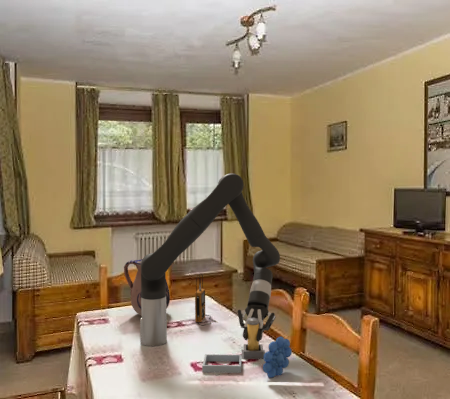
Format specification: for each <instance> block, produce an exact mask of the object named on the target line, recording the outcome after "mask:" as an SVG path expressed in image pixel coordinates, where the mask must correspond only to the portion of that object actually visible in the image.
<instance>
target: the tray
mask: <svg viewBox="0 0 450 399" xmlns="http://www.w3.org/2000/svg"><path fill="white" fill-rule="evenodd" d="M207 362H237V363H238V365H235V364H234V365H233V364H231V365H230V364H229V365H227V364H224V365H223V364H222V365H221V364H220V365H219V364H207ZM201 366H202V368H201V370H202V371H201V372H202V373H220V374H221V373H225V374H226V373H227V374H228V373H229V374H231V373H232V374H237V373H238V374H241V373H242V354H221V353H220V354H215V353H212V354H211V353H209V354H207V353H205V354H204V358H203V361H202V365H201Z"/></svg>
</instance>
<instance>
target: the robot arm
mask: <svg viewBox="0 0 450 399" xmlns="http://www.w3.org/2000/svg"><path fill="white" fill-rule="evenodd" d="M244 187H245V186H244V180H243V178H242V176H240V175H239V174H236V173H232V172H231V173H227V174H225V175H223V176H221V178H220V179H219V180H218V182H217V185H216V187H215V188H214V189H213V190H212V191H211V193H210V194H208V196H207V197H206V198H205V199H203V200H202V201H201V202H200V203H197V205H195V206H194V207H193V208H191V210H190V211H188V212H187V213H186V214H185V216H184V217H183V218H181V220H180V221H179V222H178V223H177V224H176V225H175V227H174V228H173V229H172V231H171V233H170V234H169V236H168V237H166V238H167V239H166V240H165V241H164V242H163V244H161V246H159V247H158V248H157V249H156V250H155V251H154V252H151V253H148V254H145V256H143V258H141V259H142V262H141V307H142V316H141V318H140V320H139V329H140V330H139V333H140V335H139V337H140V342H139V343H140V345H144V346H148V347H157V346H162V345H165V344H166V343H167V341H168V338H167V337H168V334H167V332H168V330H167V326H168V325H167V324H168V322H167V309H166V281H167V279H166V272H167V271H168V270H169V269H170V267H171V266H172V265H173V264H174V262H175V261H176V260H177V259H178V257H179V256H180V255H181V254H182V253H183V252H185V251H187V249H188V248H189V247H190V246H191V245H193V244H194V242H195V241H196V240H198V239H199V238H200V236H202V235H203V233H204V232H205V231H206V230H207V229H208V227H209V226H210V225H211V224H212V223H213V222H214V221H215V219H216V218H217V216H218V215H219V214H220V213H221V211H223V209H224V208H226V207H227V206H228V205H229V207H230V208H231V210H232V212H233V213H234V216H235V217H236V219H237V222H238V224H239V226H240V228H241V230H242V232H243V235H244V236H245V239H246V240H247V241H248V244H249V246H250V247H251V248H260V249H261V250H259V251H256V252H255V253H254V255H253V258H252V264H253V273H254V274H253V278H252V284H251V287H250V290H249V296H248V299H247V300H248V301H247V304H246V307H245V309H243V310H241V309H238V310H237V317H238V322H239V323H238V324H239V326H240V328H241V329H243V332H242V337H243V339H244V341H248V324H247V319H248V318H258V319H259V329H258V333H257V341H258V342H259V343H260V342H261V341H262V339H263V334H264V331H269V330H270V329H271V327H272V325H273V323H274V321H275V320H276V314H275V313H274V312H270V311H269V306H270V301H271V295H272V283H273V272H272V271H271V269H269V268H270V267H274V266H276V265H278V264H279V263H280V260H281V254H280V251H279V250H278V248H277V247H276V246H275V245H274V244H273V243H272V241H270V239H269V238H268V236H266V234H265V232H264V230H263V228H262V226H261V224H260V222H259V221H258V219H257V218H256V216H255V215H254V213H253V212H252V210H251V209H250V207H249V205H248V204H247V202H246V199H245V196H244V195H243V191H244V190H243V189H244ZM245 315H246V316H247V317H246V320H245V321H244V317H245ZM266 318H267V320H266V321H265V324H264V320H265V319H266Z"/></svg>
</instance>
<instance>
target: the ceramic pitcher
mask: <svg viewBox="0 0 450 399" xmlns="http://www.w3.org/2000/svg"><path fill="white" fill-rule="evenodd" d="M142 259H143V258H141V259H131V260H128V261H127V262H126V263H125V264H124V266H123V272H124V277H125V279H126V282H127V283H128V284H127V285H128V287H129V289H130V304H131V307H132V309H133V310H134V312H136V314H138V315H139V316H141V317H142V307H141V262H142ZM130 265H134V266H135V267H136V269H137V272H136V274H135V278H134V281H133V280H132V279H131V277H130V273H129V269H128V268H129V266H130ZM170 301H171V293H170V288H169V285H168V282H167V280H166V310H167V309H168V308H169V305H170Z"/></svg>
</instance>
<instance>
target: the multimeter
mask: <svg viewBox="0 0 450 399" xmlns="http://www.w3.org/2000/svg"><path fill="white" fill-rule="evenodd" d="M201 276H202V278H201ZM203 276H204V275H203V274H202V273H199V274H198V276H196V278H195V282H197V279H199V280H198V281H199V282H198V283H199V284H198V285H199V286H198V285H197V283H195V292H194V310H195V311H194V315H195V317H194V318H195V319H194V320H195V321H194V322H195V323H197V325H199V326H207V325H211V324H212V323H215V322H216V323H218V320H215V319H214V318H213V319H212V315H209V314H206V288H204V286H203V284H204V277H203ZM197 286H198V288H197ZM206 316H207V317H209V318H208V319H209V320H211V321H212V322H208V323H205V324H200V323H203V321H204V319H205V318H206Z"/></svg>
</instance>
